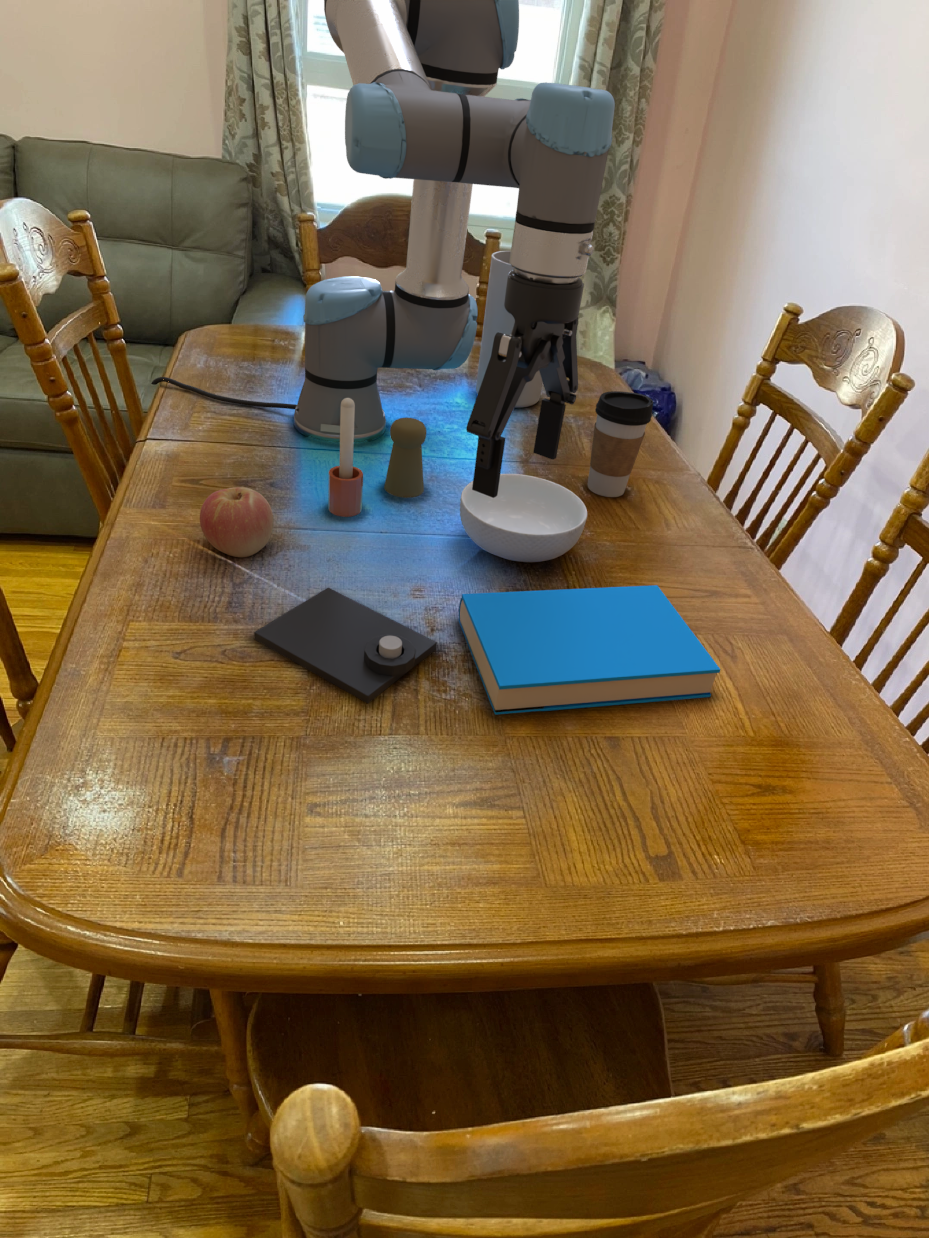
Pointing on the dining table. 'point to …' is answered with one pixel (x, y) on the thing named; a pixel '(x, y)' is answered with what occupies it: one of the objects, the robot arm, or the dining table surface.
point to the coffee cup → (617, 440)
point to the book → (583, 648)
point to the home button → (390, 647)
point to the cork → (406, 458)
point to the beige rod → (346, 438)
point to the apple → (237, 521)
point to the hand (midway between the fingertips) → (516, 473)
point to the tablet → (344, 643)
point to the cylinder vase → (502, 325)
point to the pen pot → (345, 493)
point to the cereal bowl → (523, 518)
